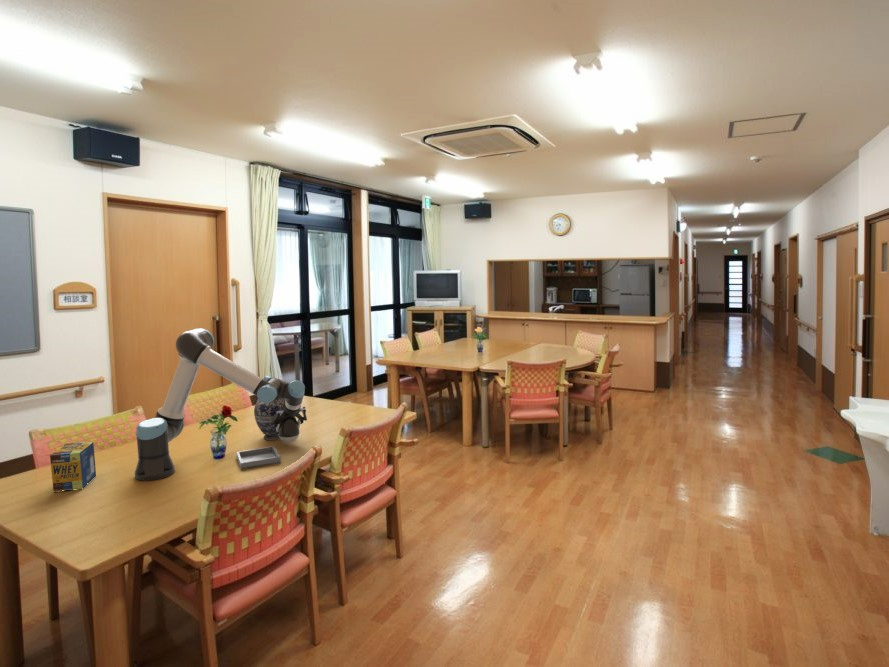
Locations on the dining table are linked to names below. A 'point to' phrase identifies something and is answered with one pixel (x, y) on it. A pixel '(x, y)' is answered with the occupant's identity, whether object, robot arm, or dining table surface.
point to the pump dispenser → (288, 429)
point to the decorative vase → (268, 416)
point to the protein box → (73, 466)
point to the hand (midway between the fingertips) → (287, 428)
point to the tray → (258, 457)
